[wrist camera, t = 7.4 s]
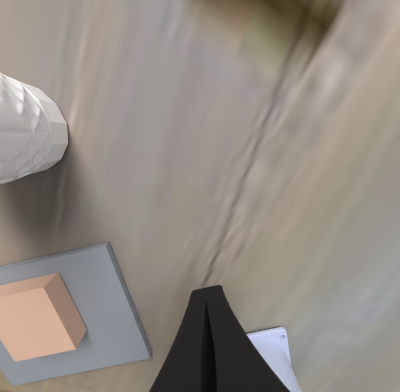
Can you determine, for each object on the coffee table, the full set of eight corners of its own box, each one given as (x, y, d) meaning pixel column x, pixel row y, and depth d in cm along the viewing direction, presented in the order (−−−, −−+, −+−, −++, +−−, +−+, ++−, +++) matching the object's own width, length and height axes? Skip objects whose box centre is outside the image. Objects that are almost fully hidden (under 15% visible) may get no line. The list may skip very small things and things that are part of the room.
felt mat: (152, 350, 23) (150, 358, 22) (17, 377, 24) (11, 385, 23) (109, 241, 19) (105, 246, 18) (-50, 277, 20) (-59, 282, 19)
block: (75, 349, 19) (14, 361, 19) (87, 328, 21) (32, 340, 21) (43, 287, 17) (-24, 302, 17) (59, 271, 19) (-1, 285, 19)
